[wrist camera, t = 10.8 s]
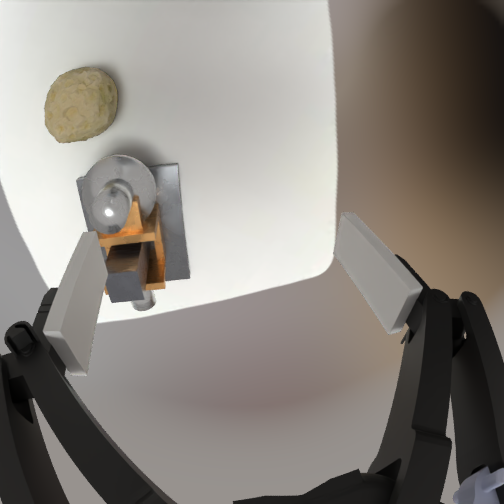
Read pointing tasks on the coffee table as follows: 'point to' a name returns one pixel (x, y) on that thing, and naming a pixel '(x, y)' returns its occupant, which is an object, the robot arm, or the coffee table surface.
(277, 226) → the coffee table surface
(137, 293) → the dark gray rectangular block
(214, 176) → the coffee table surface
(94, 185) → the multicoloured piece
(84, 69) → the decorative object
